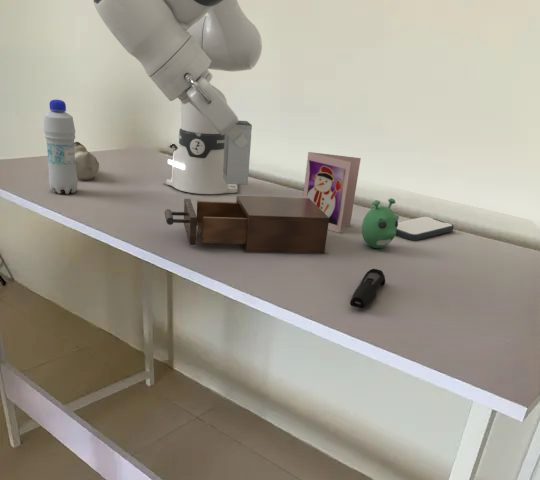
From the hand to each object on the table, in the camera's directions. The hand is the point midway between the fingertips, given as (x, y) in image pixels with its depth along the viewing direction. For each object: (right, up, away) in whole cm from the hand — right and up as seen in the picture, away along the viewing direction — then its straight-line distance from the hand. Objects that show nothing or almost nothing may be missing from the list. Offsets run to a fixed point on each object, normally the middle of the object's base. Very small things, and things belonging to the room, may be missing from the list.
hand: (241, 142), depth 100 cm
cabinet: (+6, -12, +22) cm, 26 cm away
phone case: (+39, -7, +38) cm, 55 cm away
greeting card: (+18, -6, +37) cm, 41 cm away
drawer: (-6, -11, +19) cm, 23 cm away
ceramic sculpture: (-45, +11, +56) cm, 73 cm away
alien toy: (+27, -13, +24) cm, 39 cm away
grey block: (-1, -6, +3) cm, 6 cm away
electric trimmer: (+21, -26, 0) cm, 33 cm away
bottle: (-43, +3, +41) cm, 60 cm away
